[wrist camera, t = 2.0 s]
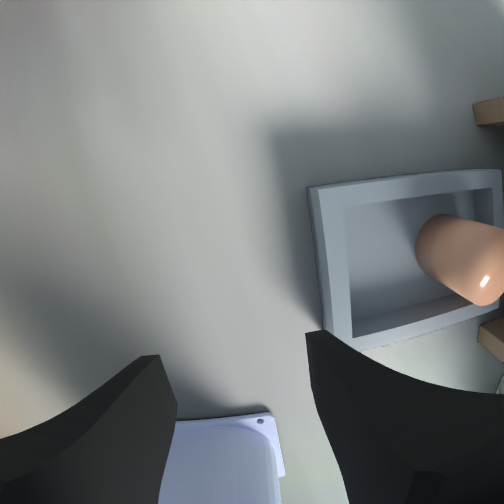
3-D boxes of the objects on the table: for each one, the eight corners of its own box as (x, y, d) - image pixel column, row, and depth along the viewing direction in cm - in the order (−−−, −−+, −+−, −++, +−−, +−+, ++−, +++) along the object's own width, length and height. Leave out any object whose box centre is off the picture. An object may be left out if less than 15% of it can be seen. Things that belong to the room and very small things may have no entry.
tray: (323, 333, 20) (335, 357, 17) (305, 187, 17) (317, 189, 15) (474, 293, 19) (498, 308, 16) (472, 168, 17) (501, 169, 14)
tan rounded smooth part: (415, 282, 18) (460, 314, 13) (413, 218, 17) (463, 233, 12) (464, 270, 18) (512, 295, 13) (463, 210, 17) (516, 222, 12)
